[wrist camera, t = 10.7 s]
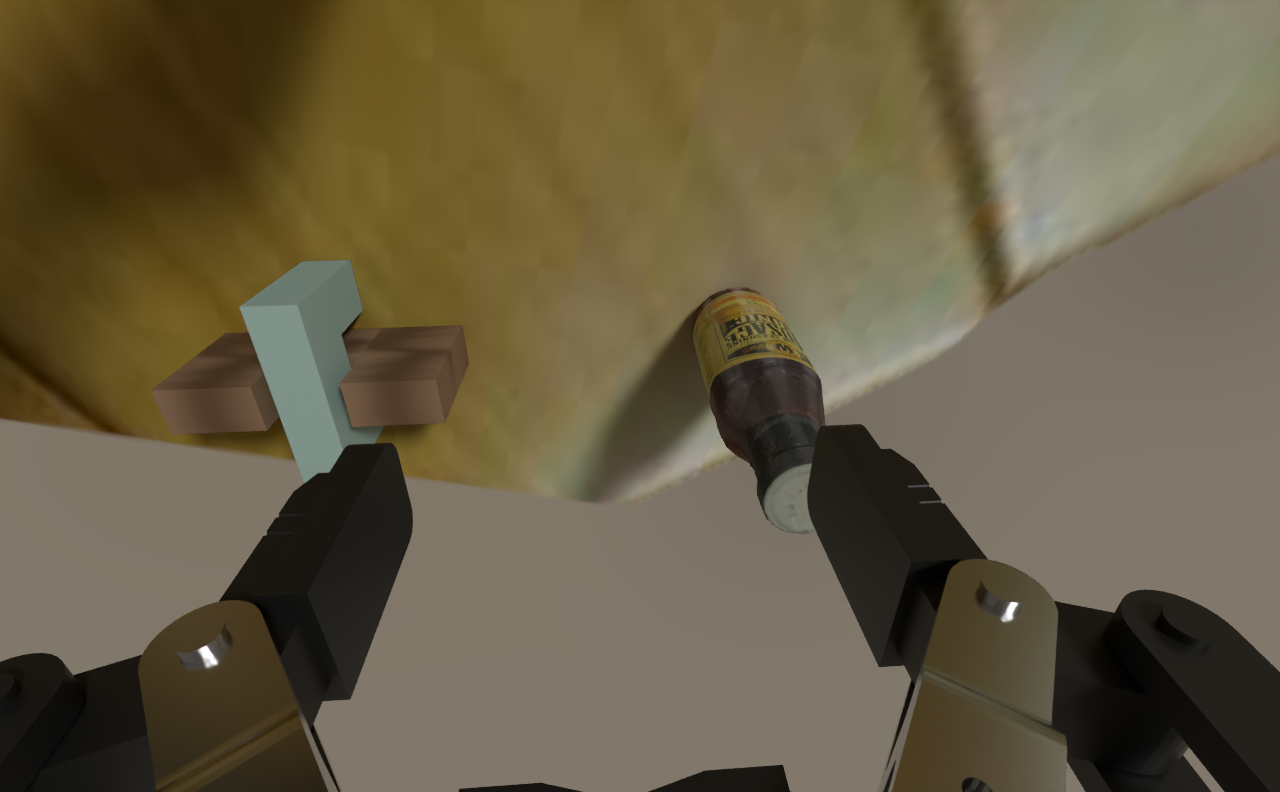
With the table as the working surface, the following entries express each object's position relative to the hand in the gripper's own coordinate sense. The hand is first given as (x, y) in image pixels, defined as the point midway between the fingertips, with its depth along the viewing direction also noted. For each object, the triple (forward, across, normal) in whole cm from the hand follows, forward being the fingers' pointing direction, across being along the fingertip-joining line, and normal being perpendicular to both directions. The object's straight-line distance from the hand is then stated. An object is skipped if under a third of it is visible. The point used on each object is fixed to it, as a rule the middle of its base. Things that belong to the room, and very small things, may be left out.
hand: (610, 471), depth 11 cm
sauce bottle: (+30, -9, +10) cm, 33 cm away
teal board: (+30, +18, +11) cm, 37 cm away
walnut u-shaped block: (+30, +18, +11) cm, 37 cm away
